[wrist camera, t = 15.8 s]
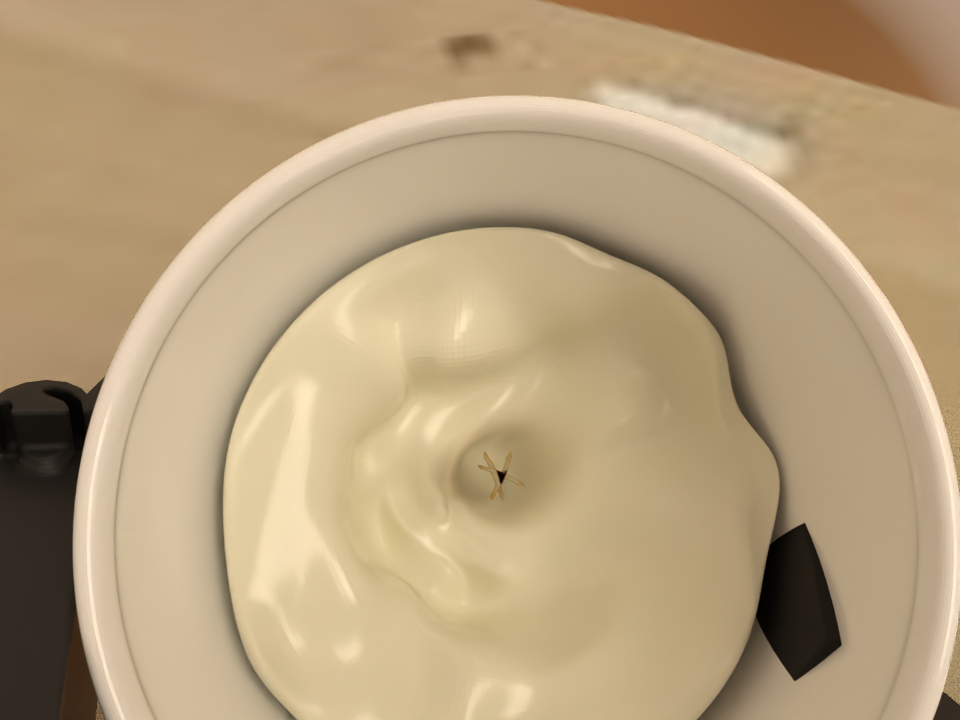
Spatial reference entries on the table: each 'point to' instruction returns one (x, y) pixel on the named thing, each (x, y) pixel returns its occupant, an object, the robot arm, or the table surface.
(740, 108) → the table surface
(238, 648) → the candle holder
